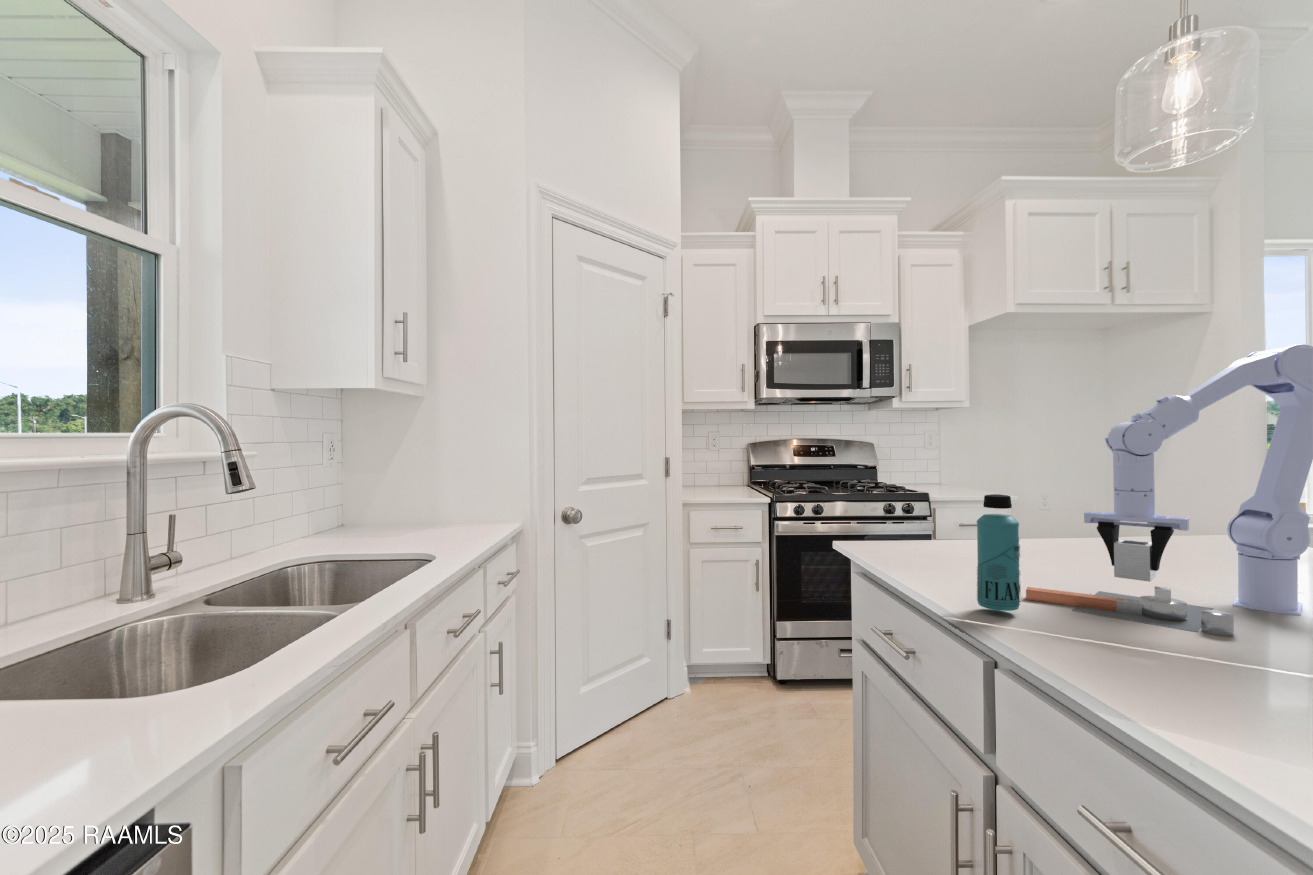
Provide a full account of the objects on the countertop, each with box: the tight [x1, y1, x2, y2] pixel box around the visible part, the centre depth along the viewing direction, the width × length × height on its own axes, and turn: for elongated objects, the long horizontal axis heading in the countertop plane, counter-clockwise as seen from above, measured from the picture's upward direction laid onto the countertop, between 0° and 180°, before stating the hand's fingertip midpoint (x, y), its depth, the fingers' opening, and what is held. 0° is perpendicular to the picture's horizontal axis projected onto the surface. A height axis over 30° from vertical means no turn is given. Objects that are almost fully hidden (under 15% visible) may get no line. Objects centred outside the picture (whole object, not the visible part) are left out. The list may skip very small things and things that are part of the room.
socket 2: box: [1200, 609, 1235, 638], centre depth 92 cm, size 4×4×3 cm
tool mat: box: [1071, 590, 1214, 633], centre depth 104 cm, size 18×16×1 cm
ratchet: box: [1025, 586, 1188, 622], centre depth 105 cm, size 22×6×4 cm, turn 52°
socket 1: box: [1113, 538, 1157, 582], centre depth 109 cm, size 5×5×6 cm
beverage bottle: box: [976, 493, 1022, 612], centre depth 103 cm, size 6×7×20 cm
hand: (1135, 567), depth 109 cm, fingers closed on socket 1, 5 cm apart
